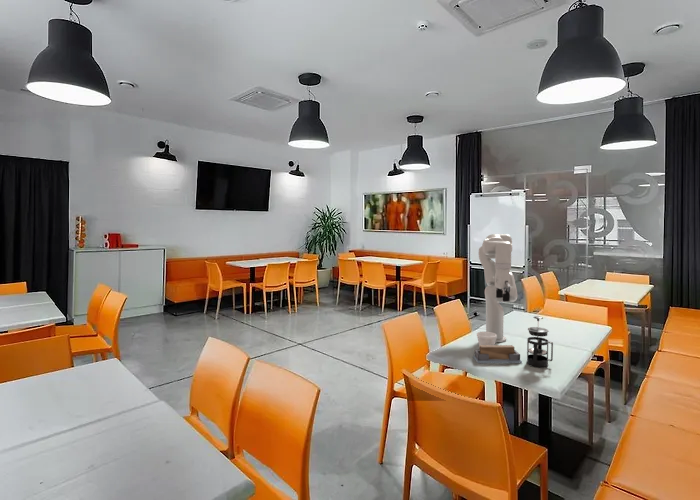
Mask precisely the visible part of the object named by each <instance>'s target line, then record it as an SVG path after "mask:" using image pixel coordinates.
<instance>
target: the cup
mask: <svg viewBox="0 0 700 500" xmlns="http://www.w3.org/2000/svg"><path fill="white" fill-rule="evenodd" d="M476 338H477V341H478V346H479V345H496V343H497V342H496V338H497V335H496V334H495V333H492V332H486V331H478V332H477V333H476Z"/></svg>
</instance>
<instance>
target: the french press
mask: <svg viewBox="0 0 700 500" xmlns="http://www.w3.org/2000/svg"><path fill="white" fill-rule="evenodd" d="M533 318H534V319H536V320H537V326H532V327H527V331H528V333H529V335H531V336H530V337H528V338H527V340H526V341H527V342H526V345H527V349H526V350H527V351H526V354H527V355H526V359H527V360H526V365H528V366H530V367H534V368H538V369H539V368H540V369H545V368H548V367H549V362H552V361H553V359H554V358H553V357H554V343H553V341H549V339H547V338H545V337H547V336H548V332H550V331H549V329H547V328H544V327H539V325H540V323H539V322H540V320H543V319H544V317H542V316H537V315H536V316H533ZM533 340H535V341H533ZM536 340H537V341H536ZM530 344H531V345H533V348H529V347H530ZM549 344H551V347H550V348H551V350H550V351H551V353H550V354H551V355H550V356H551V357H550V359H549ZM542 346H546V349H543V347H542Z"/></svg>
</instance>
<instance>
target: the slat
mask: <svg viewBox="0 0 700 500" xmlns="http://www.w3.org/2000/svg"><path fill="white" fill-rule="evenodd" d="M478 346H479V349H478V350H479V353H480V354H489V359H509V354H514V350H515V346H514V345H513V344H512V345H510V344H505V345H502V344H500V345H499V344H498V345H497V344H495V345H479V344H478Z"/></svg>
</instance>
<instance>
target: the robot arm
mask: <svg viewBox="0 0 700 500" xmlns="http://www.w3.org/2000/svg"><path fill="white" fill-rule="evenodd" d="M512 252H513V238H512V236H511V235H510V234H508V233H493V234H492V233H491V234H489V235H488V236H486V238H485V239H484V240H483V242H482V245H481V246H480V247H479V248H478V259H479V262H480V264H481V266H482V269H483V272H484V279H485V283H486V287H485V289H484V298H485V310H486V311H485V332H492V333H495V334H496V335H497V338H496V342H495V343H503V342H506V341H507V337H506V336H505V335H504V323H505V321H504V319H505V318H504V317H505V316H504V307H503V306H502V305H501V304H500V303H514V302H516V301H517V299H518V290H517V285H516V280H515V275H514V274H513V272H511V270H512ZM493 259H495V261H494V260H493Z"/></svg>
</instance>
